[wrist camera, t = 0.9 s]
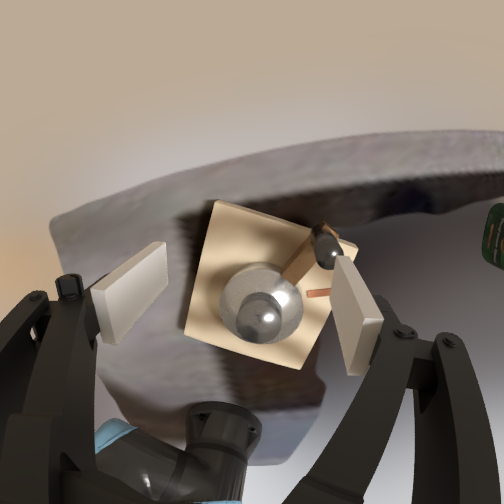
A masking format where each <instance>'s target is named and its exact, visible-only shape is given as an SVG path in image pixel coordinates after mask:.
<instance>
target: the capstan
mask: <svg viewBox="0 0 504 504" xmlns="http://www.w3.org/2000/svg"><path fill="white" fill-rule="evenodd" d="M338 237H339V235H338V233H337V231H336V230H335V229H334V228H332V227H331V226H330V225H329V224H328V223H326V222H325V221H324V220H323V219H322V221H321V222H320V223H319V224H318V225H317V226H315V227H314V228H313V229H312V230H311V232H310V235H309V236H308V237H307V238H306V240H305V241H304V242H303V243H302V244H301V246H300V247H299V248H298V249H297V250H296V251H295V253H294V254H293V255H292V256H291V257H290V258H289V260H288V261H287V262H286V263H285V264H284V265H283V267H281V266H279V265H276V264H272V263H266V262H257V263H251V264H248V265H245V266H243V267H241V268H240V269H238V270H237V271H235V272H234V273H233V274H232V275H231V277H230V278H229V280H228V282H227V284H226V286H225V288H224V290H223V292H222V294H221V297H220V302H219V311H220V316H221V319H222V321H223V323H224V324H225V326H226V327H227V328H228V330H229V331H230V332H231V333H233V334H234V335H235V336H237V337H238V338H240V339H242V340H244V341H247V342H250V343H254V344H272V343H276V342H279V341H282V340H284V339H286V338H287V337H289V336H290V335H291V334H293V333H294V331H295V330H296V329H297V328H298V326H299V325H300V323H301V320H302V317H303V299H302V291H301V288H300V285H299V283H298V282H299V281H300V280H301V279H302V278H303V277H304V276H305V274H306V273H307V272H308V271H309V270H310V269H311V268H312V267H313V266H314V264H315V263H316V262H317V264H318V265H319V266H320V267H321V268H322V269H325V270H334V267H335V260H336V255H339V256H344V252H343V250H342V248H341V246H340V244H339V243H338V241H337V238H338Z"/></svg>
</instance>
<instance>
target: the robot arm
mask: <svg viewBox="0 0 504 504" xmlns="http://www.w3.org/2000/svg"><path fill="white" fill-rule="evenodd" d="M55 283H56V288H57V292H58V296H59V299H58V301H49V299H48V295H47V293H46V292H45V291H37V290H36V291H33V292H31V293H29V294H28V295H26V296H25V297H24V298H23V299H22V300H21V301H20V302H19V303H18V304H17V305H16V306H15V308H13V309H12V310H11V312H10V313H9V314H8V315H7V316H6V317H5V318H4V319H3V320H2V321H1V323H0V504H242V502H241V501H242V495H243V489H244V483H245V476H246V470H247V464H248V459H249V458H250V456H251V454H252V453H253V451H254V450H255V448H256V446H257V444H258V443H259V441H260V438H261V432H262V425H261V423H260V421H259V420H258V418H257V417H256V416H254V415H253V414H252V413H250V412H249V411H247V410H245V409H243V408H241V407H238V406H235V405H232V404H227V403H221V402H206V403H201V404H198V405H196V406H194V407H192V408H191V409H190V411H189V413H188V415H187V418H186V422H185V429H186V448H185V451H183V450H181V449H179V448H176V447H174V446H172V445H170V444H168V443H165V442H163V441H161V440H159V439H157V438H155V437H153V436H151V435H149V434H147V433H145V432H143V431H142V430H140V429H139V428H138V427H136V426H135V427H134V426H132V425H130V424H128V423H126V422H124V421H122V420H120V419H117V418H113V419H110V420H108V421H106V422H105V423H104V424H103V425H102V426H101V427H100V428H99V429H98V430H97V431H96V432H95V433H94V389H95V369H96V355H97V340H96V335H97V334H98V333H99V332H100V333H101V337H102V340H103V342H104V343H108V344H112V345H115V346H117V345H118V343H119V342H120V341H121V340H122V338H123V337H124V336H125V335H126V334H127V332H128V331H129V330H130V329H131V328H132V326H133V325H134V324H135V323H136V322H137V320H138V319H139V318H140V317H141V316H142V315H143V313H144V312H145V311H146V310H147V309H148V307H149V306H150V305H151V304H152V303H153V302H154V300H155V299H156V298H157V297H158V296H159V295H160V293H161V292H162V291H163V290H164V289H165V288H166V287H167V285H168V271H167V257H166V242H156V241H154V242H153V243H151V244H150V245H148V246H147V247H145V248H144V249H143V250H141V251H140V252H138V253H137V254H136V255H134V256H133V257H131V258H130V259H129V260H127V261H126V262H125V263H123V264H122V265H120V266H119V267H118V268H116V269H115V270H114V271H112V272H111V273H108V274H106V275H104V276H103V277H101V278H100V279H99V280H97V281H96V282H95V283H94V284H92V285H91V286H89V287H88V288H87V289H85V290H84V287H83V282H82V277H81V276H80V275H79V274H66V275H63V276H60V277H59V278H57V279H56V281H55ZM329 300H330V304H331V308H332V312H333V315H334V319H335V323H336V327H337V331H338V335H339V340H340V344H341V348H342V352H343V357H344V361H345V365H346V370H347V375H366V376H365V378H364V380H363V382H362V384H361V386H360V388H359V390H358V392H357V394H356V396H355V398H354V400H353V402H352V403H351V405H350V407H349V409H348V410H347V412H346V414H345V416H344V418H343V419H342V421H341V423H340V424H339V426H338V428H337V429H336V431H335V433H334V434H333V436H332V438H331V439H330V441H329V442H328V444H327V446H326V447H325V449H324V450H323V452H322V453H321V455H320V456H319V458H318V459H317V461H316V462H315V464H314V465H313V467H312V468H311V469H310V471H309V472H308V474H307V475H306V476H304V477H303V478H302V479H301V480H300V481H299V483H298V484H297V485H296V486H295V488H294V489H293V490H292V491H291V493H290V494H289V495H288V496H287V498H286V499H285V500H284V502H283V503H282V504H363V503H364V500H363V496H364V494H365V492H366V489H367V487H368V485H369V484H370V482H371V479H372V477H373V475H374V473H375V471H376V468H377V466H378V464H379V462H380V460H381V457H382V455H383V453H384V450H385V448H386V445H387V443H388V440H389V437H390V435H391V432H392V429H393V426H394V424H395V421H396V418H397V415H398V412H399V409H400V406H401V403H402V399H403V396H404V393H405V389H406V388H409V389H413V397H414V417H415V463H414V482H413V493H412V503H411V504H501V493H500V482H499V473H498V465H497V459H496V453H495V447H494V442H493V437H492V432H491V428H490V423H489V419H488V416H487V412H486V408H485V404H484V401H483V397H482V394H481V390H480V387H479V384H478V381H477V378H476V375H475V372H474V369H473V366H472V364H471V360H470V358H469V355H468V352H467V350H466V347H465V345H464V343H463V341H462V340H461V339H460V338H459V337H458V336H457V335H454V334H453V333H448V332H442V333H439V334H438V335H437V336H436V338H435V340H434V342H431V341H426V340H421V339H418V334H417V332H416V331H415V330H414V329H413V328H411V327H409V326H407V325H404V324H401V323H400V321H399V319H398V318H397V316H396V314H395V313H394V311H393V309H392V308H391V306H390V304H389V303H388V301H387V300H386V299H384V298H383V297H382V296H380V295H371V294H370V292H369V290H368V288H367V286H366V285H365V283H364V281H363V279H362V277H361V276H360V274H359V272H358V271H357V269H356V267H355V265H354V264H353V262H352V260H351V259H350V257H349V256H339V255H336V260H335V267H334V273H333V279H332V285H331V291H330V297H329ZM31 328H33V331H34V334H35V336H36V337H35V339H34V340H33V339H32V337H31V334H30V331H31ZM369 365H370V368H369V370H368V372H367V369H368V366H369ZM366 372H367V374H366Z"/></svg>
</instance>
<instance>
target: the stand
mask: <svg viewBox="0 0 504 504" xmlns="http://www.w3.org/2000/svg"><path fill="white" fill-rule="evenodd" d="M311 230H312V229H310V228H307V227H304V226H301V225H298V224H295V223H292V222H289V221H286V220H283V219H280V218H277V217H274V216H271V215H267V214H264V213H261V212H258V211H255V210H252V209H248V208H245V207H242V206H239V205H236V204H232V203H229V202H226V201H222V200H217V201H216V202H215V204H214V207H213V211H212V215H211V219H210V223H209V227H208V231H207V235H206V239H205V243H204V247H203V251H202V255H201V259H200V263H199V267H198V272H197V276H196V280H195V285H194V289H193V294H192V298H191V303H190V307H189V312H188V316H187V321H186V326H185V331H184V335H187V336H190V337H192V338H195V339H198V340H201V341H204V342H207V343H210V344H213V345H216V346H219V347H222V348H225V349H228V350H231V351H234V352H238V353H241V354H244V355H247V356H251V357H254V358H258V359H261V360H265V361H268V362H272V363H276V364H279V365H283V366H287V367H291V368H295V369H299V370H300V369H301V367H302V365H303V363H304V361H305V360H306V358H307V356H308V354H309V352H310V350H311V348H312V347H313V345H314V343H315V341H316V339H317V337H318V335H319V333H320V331H321V329H322V327H323V325H324V323H325V321H326V319H327V317H328V315H329V313H330V311H331V309H332V308H331V304H330V300H329V297H330V291H331V285H332V279H333V273H334V270H325V269H322V268H321V267H320V266H319V265H318V264H317V262H316V263H315V264H314V266H313V267H312V268H311V269H310V270H309V271H308V272H307V273H306V274H305V276H304V277H303V278H302V279H301V280H300V281H299V282H298V283H299V285H300V288H301V291H302V299H303V317H302V320H301V323H300V325H299V326H298V328H297V329H296V330H295V331H294V333H293V334H291V335H290V336H289V337H287V338H286V339H284V340H282V341H279V342H276V343H272V344H254V343H250V342H247V341H244V340H242V339H240V338H238V337H237V336H235V335H234V334H233V333H231V332H230V331H229V330H228V328H227V327H226V326H225V324H224V323H223V321H222V319H221V316H220V311H219V302H220V297H221V294H222V292H223V290H224V288H225V286H226V284H227V282H228V280H229V278H230V277H231V275H232V274H233V273H234V272H235V271H237V270H238V269H240V268H241V267H243V266H245V265H248V264H251V263H257V262H266V263H272V264H276V265H279V266H281V267H283V265H284V264H285V263H286V262H287V261H288V260H289V258H290V257H291V256H292V255H293V254H294V253H295V251H296V250H297V249H298V248H299V247H300V246H301V244H302V243H303V242H304V241H305V240H306V238H307V237H308V236H309V235H310V232H311ZM337 241H338V243H339V244H340V246H341V248H342V250H343V252H344V256H349V257H350V259H351V260H352V262H353V261H354V258H355V256H356V254H357V251H358V248H357V247H356V245H355V244H353V243H350V242H347V241H345V240H342V239H339V238H337Z"/></svg>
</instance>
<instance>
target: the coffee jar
mask: <svg viewBox="0 0 504 504" xmlns="http://www.w3.org/2000/svg"><path fill="white" fill-rule="evenodd" d="M482 255H483V257H484V259H485V260H486V261H487V262H489V263H490V264H492V265H494V266H496V267H498V268H500V269H501V270H503V271H504V203H498V204H495V205H494V206H493V207H492V208H491V210H490V211H489V214H488V218H487V222H486V226H485V231H484V236H483V243H482Z"/></svg>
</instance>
